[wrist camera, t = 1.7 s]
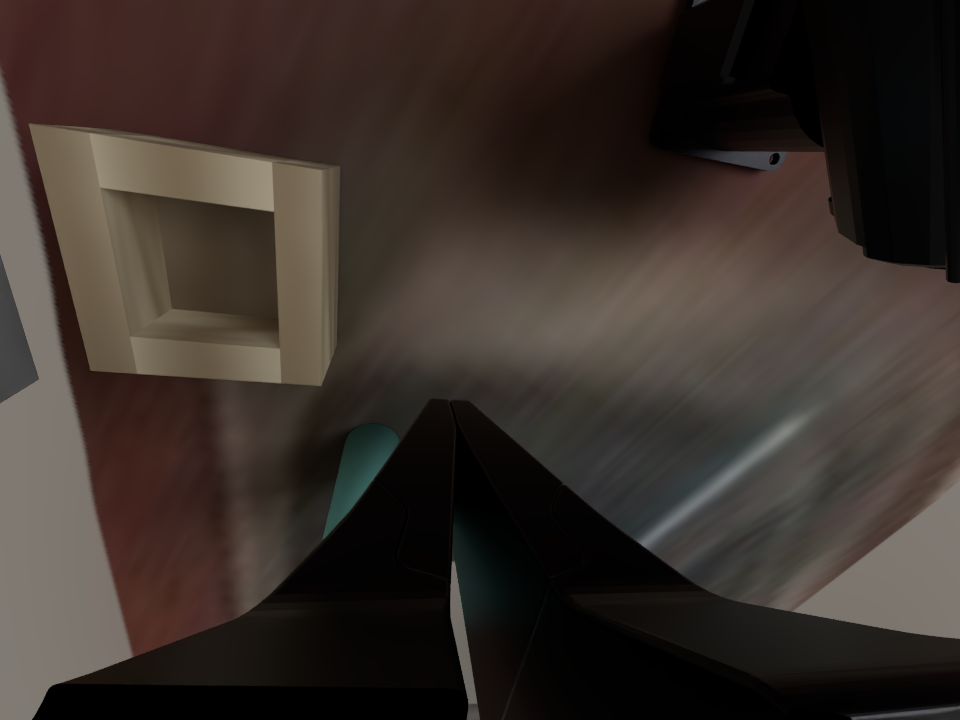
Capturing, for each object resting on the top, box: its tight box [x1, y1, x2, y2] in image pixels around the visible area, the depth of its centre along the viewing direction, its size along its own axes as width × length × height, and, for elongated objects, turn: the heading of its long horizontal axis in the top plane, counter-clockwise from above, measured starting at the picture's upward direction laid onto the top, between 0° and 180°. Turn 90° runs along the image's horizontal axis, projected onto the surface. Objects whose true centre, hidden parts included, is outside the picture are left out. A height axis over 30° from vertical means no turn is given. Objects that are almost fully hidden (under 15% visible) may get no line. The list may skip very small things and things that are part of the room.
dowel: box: [323, 424, 400, 539], centre depth 19 cm, size 3×3×10 cm
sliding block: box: [29, 124, 340, 386], centre depth 16 cm, size 8×8×4 cm
